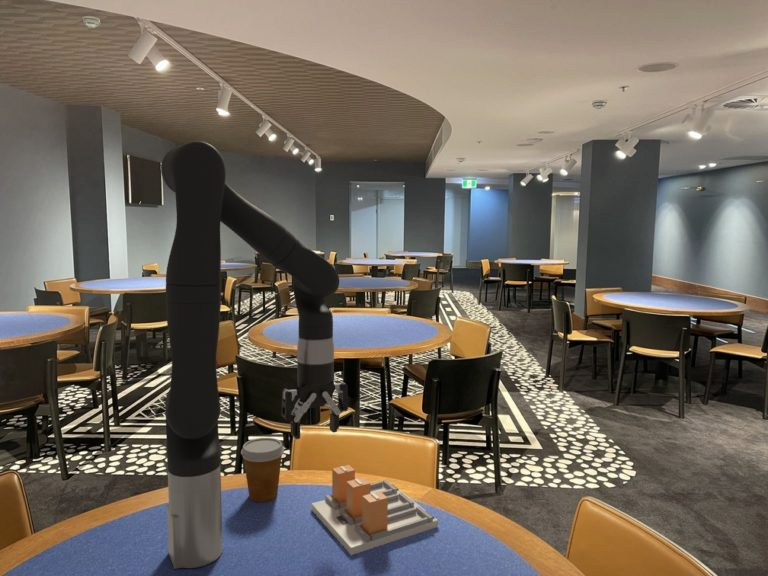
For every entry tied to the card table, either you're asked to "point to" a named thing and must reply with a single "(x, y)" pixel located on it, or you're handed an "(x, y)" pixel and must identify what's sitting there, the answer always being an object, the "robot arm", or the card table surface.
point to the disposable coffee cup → (262, 467)
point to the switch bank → (401, 524)
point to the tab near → (374, 512)
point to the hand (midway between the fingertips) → (315, 434)
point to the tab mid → (356, 496)
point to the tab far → (341, 482)
